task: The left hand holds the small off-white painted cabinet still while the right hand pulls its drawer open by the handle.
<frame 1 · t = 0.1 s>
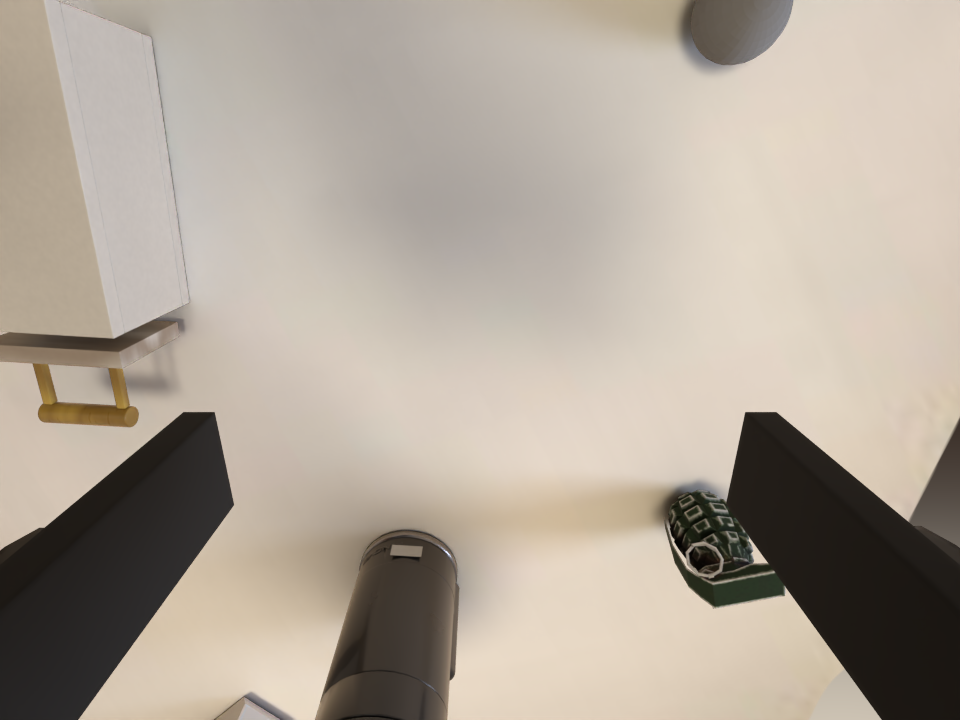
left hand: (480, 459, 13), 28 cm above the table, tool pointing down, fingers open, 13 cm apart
cabinet: (100, 176, 37), on the table
grenade: (688, 504, 47), on the table
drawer: (72, 269, 35), point 4 cm above the table, slide at 1.3 cm
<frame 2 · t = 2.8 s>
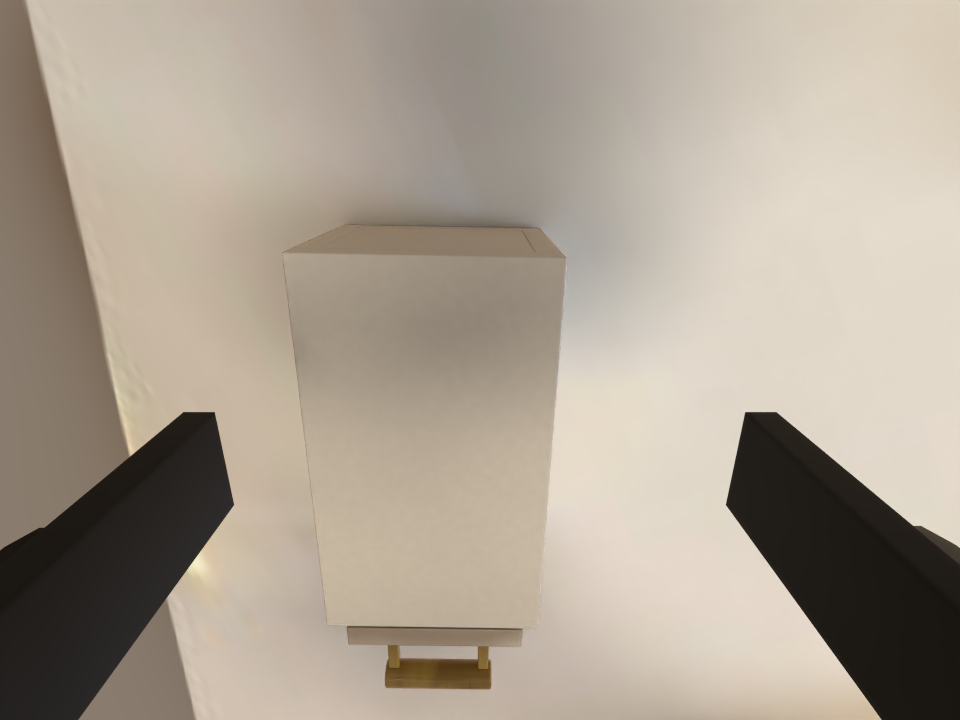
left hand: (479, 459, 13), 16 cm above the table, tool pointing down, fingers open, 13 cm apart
cabinet: (443, 384, 30), on the table
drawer: (438, 515, 28), point 4 cm above the table, slide at 1.3 cm
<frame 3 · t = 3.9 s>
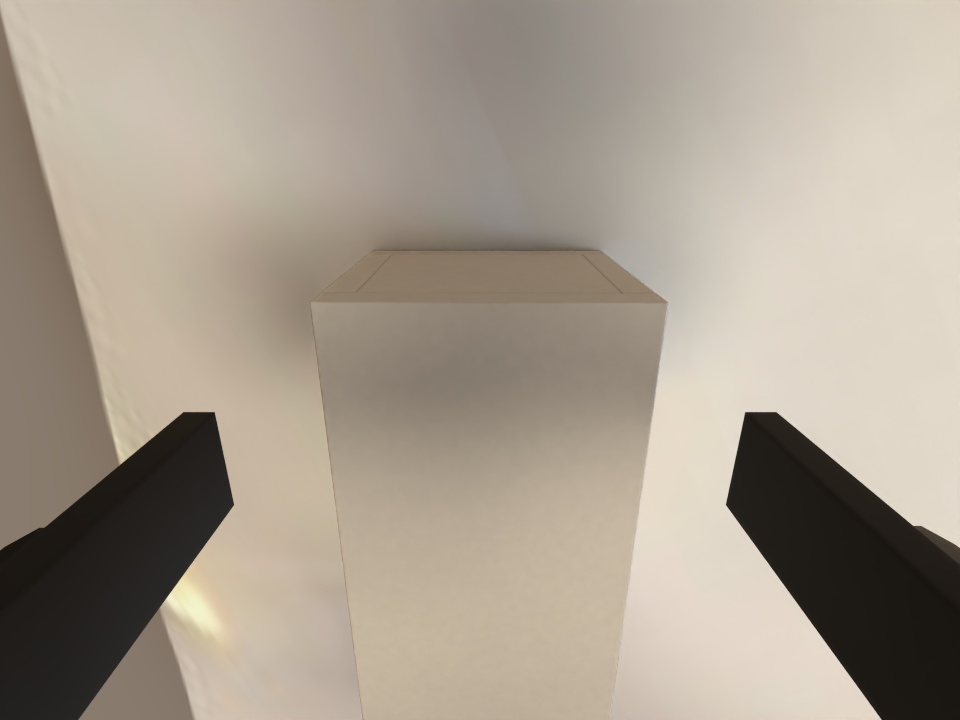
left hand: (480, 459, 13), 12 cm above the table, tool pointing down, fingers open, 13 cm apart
cabinet: (485, 427, 26), on the table
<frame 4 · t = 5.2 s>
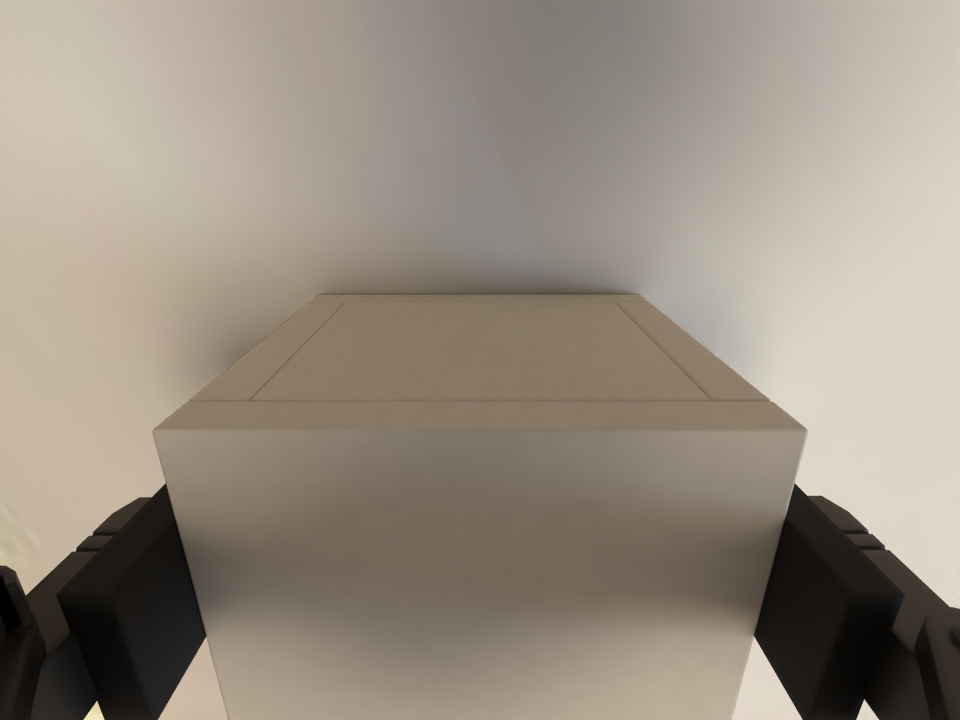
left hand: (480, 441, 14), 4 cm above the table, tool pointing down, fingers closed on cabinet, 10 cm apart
cabinet: (479, 524, 20), on the table, touching left hand
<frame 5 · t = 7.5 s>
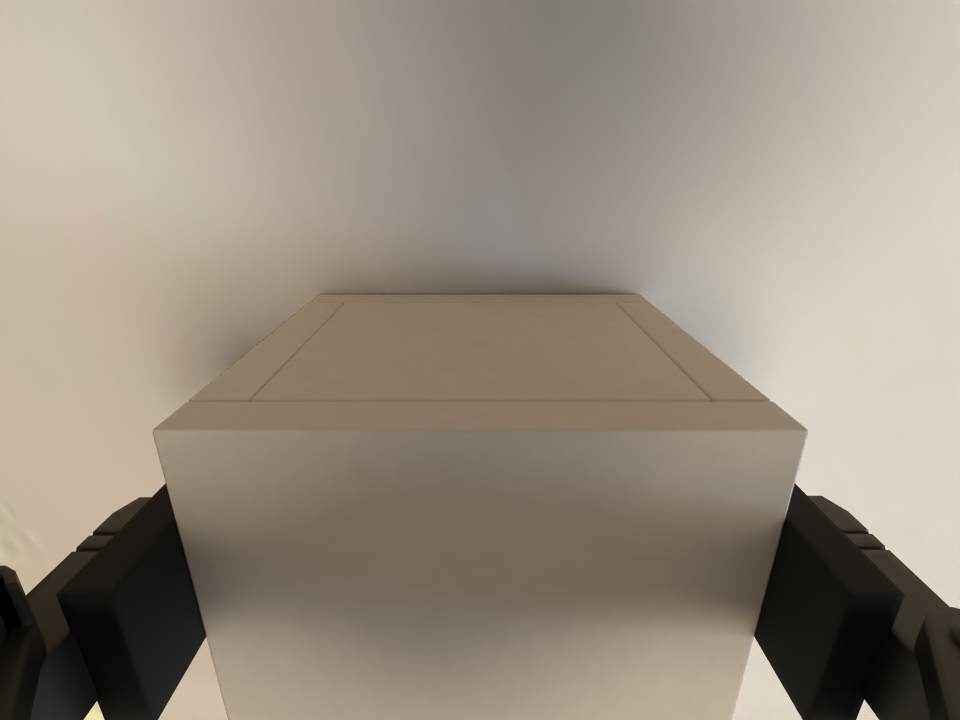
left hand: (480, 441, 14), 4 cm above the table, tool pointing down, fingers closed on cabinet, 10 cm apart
cabinet: (479, 524, 20), on the table, touching left hand
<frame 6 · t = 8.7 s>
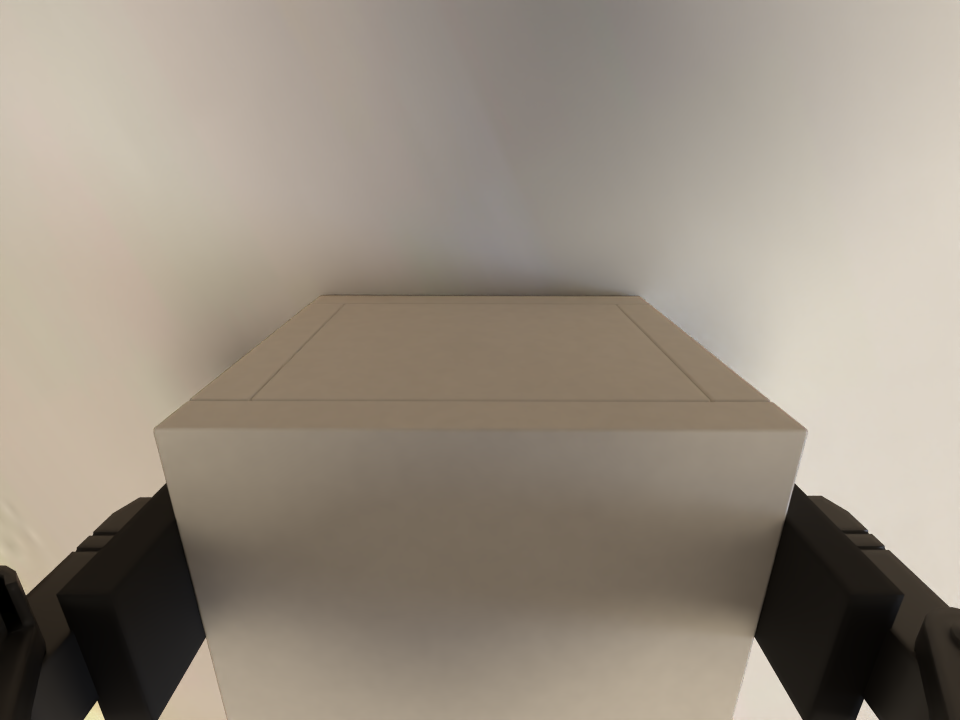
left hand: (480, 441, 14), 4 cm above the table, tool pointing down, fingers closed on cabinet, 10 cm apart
cabinet: (479, 525, 20), on the table, touching left hand
when the left hand's fingers open (4 cm above the table, at t = 9.9 s): cabinet stays where it is, on the table.
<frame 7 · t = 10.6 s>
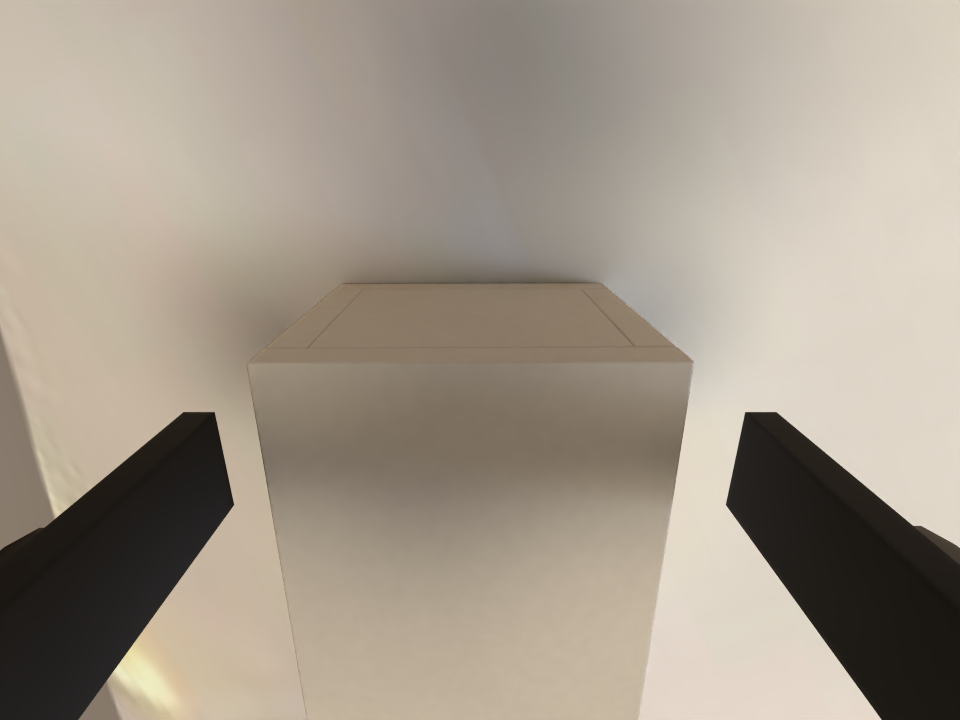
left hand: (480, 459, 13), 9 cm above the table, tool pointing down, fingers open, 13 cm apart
cabinet: (473, 479, 23), on the table
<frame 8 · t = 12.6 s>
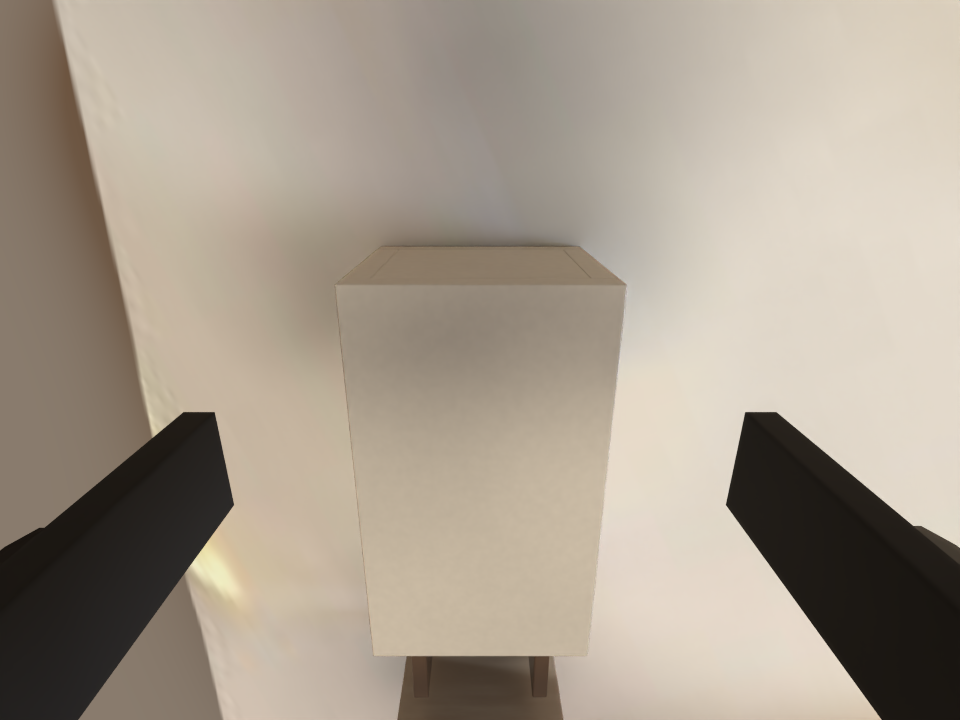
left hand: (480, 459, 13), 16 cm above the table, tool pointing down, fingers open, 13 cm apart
cabinet: (480, 404, 29), on the table
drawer: (480, 610, 29), point 4 cm above the table, slide at 6.4 cm
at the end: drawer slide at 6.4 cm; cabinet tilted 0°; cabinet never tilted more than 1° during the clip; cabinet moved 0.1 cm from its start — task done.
